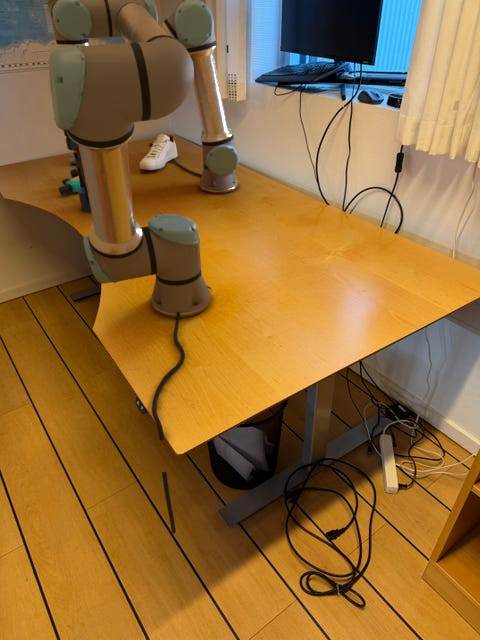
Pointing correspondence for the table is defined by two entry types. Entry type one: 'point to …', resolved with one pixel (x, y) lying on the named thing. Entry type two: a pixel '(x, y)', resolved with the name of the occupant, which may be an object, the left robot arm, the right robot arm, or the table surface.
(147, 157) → the sneaker
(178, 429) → the table surface
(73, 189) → the toy gun
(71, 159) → the toy gun
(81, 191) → the cylinder
